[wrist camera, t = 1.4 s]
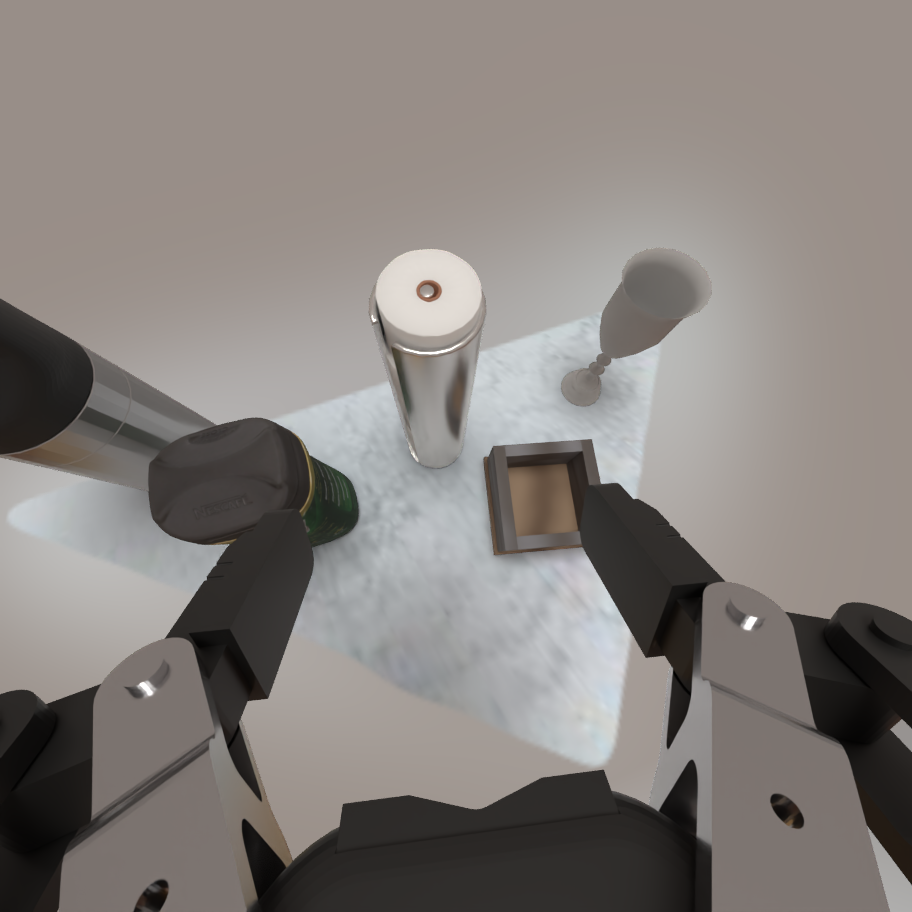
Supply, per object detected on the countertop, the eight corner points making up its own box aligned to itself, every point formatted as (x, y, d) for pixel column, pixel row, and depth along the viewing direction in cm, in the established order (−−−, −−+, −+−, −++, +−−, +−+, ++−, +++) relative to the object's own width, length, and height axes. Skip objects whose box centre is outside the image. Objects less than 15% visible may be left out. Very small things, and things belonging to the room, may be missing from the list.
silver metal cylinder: (405, 421, 43) (358, 247, 19) (458, 414, 43) (476, 236, 19) (412, 472, 41) (370, 352, 17) (467, 464, 42) (500, 336, 18)
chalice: (595, 358, 46) (685, 239, 29) (617, 403, 45) (728, 305, 27) (544, 373, 45) (606, 259, 28) (565, 419, 44) (645, 329, 26)
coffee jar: (350, 465, 41) (279, 393, 23) (366, 530, 39) (303, 507, 21) (266, 490, 40) (123, 435, 22) (278, 559, 38) (133, 559, 20)
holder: (493, 554, 39) (502, 554, 33) (483, 459, 42) (489, 443, 36) (590, 546, 39) (616, 544, 34) (573, 452, 43) (594, 436, 37)
